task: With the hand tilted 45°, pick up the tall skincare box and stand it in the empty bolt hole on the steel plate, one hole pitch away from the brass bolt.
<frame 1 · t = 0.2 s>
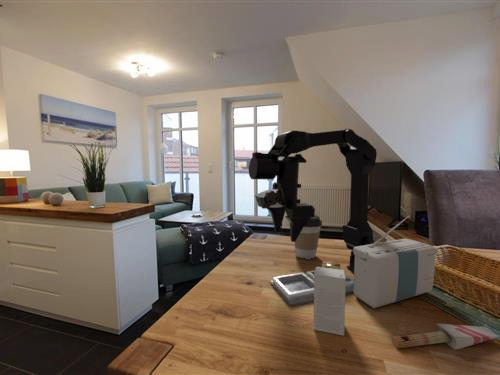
hand: (284, 236, 66), 14 cm above the table, fingers open, 9 cm apart
white boxy appliance: (391, 296, 62), on the table
coffee cup: (305, 256, 90), on the table
bolt plate: (313, 287, 66), on the table
skincare box: (328, 327, 50), on the table
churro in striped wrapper: (443, 344, 46), on the table
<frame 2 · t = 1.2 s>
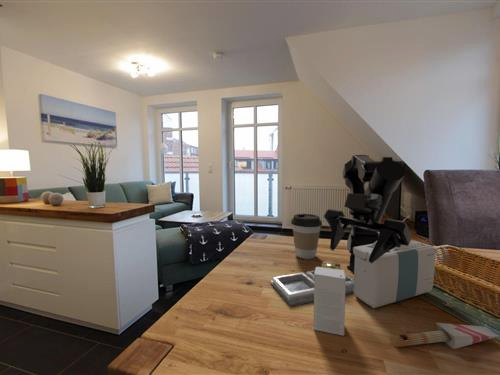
hand: (349, 255, 54), 13 cm above the table, fingers open, 9 cm apart
nothing on the table moved.
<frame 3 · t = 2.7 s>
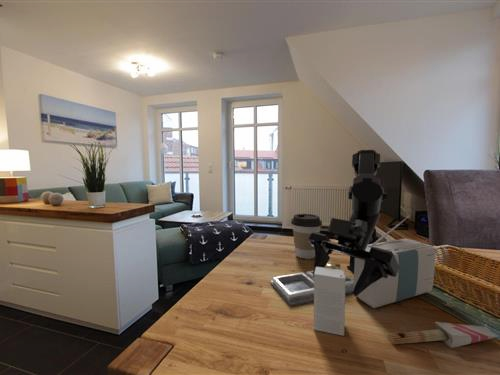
hand: (332, 286, 50), 9 cm above the table, fingers open, 9 cm apart
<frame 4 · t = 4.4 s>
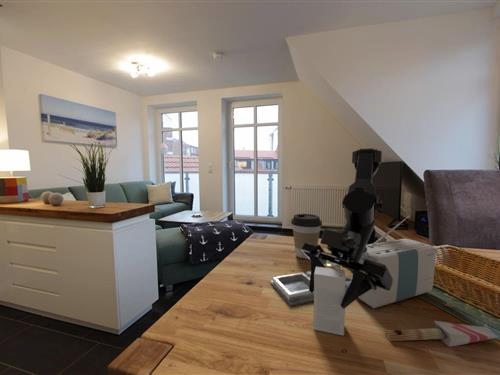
hand: (325, 299, 49), 7 cm above the table, fingers closed on skincare box, 7 cm apart
skincare box: (328, 327, 50), on the table, touching gripper
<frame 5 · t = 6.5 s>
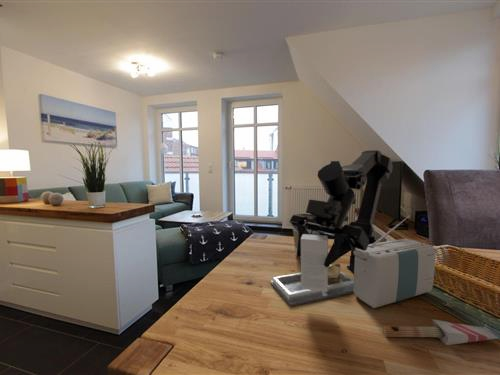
hand: (310, 261, 55), 12 cm above the table, fingers closed on skincare box, 7 cm apart
skincare box: (314, 287, 57), point 5 cm above the table, touching gripper
when the fingers open (8 cm above the table, at t = 9.0 s): skincare box stays where it is, resting on bolt plate.
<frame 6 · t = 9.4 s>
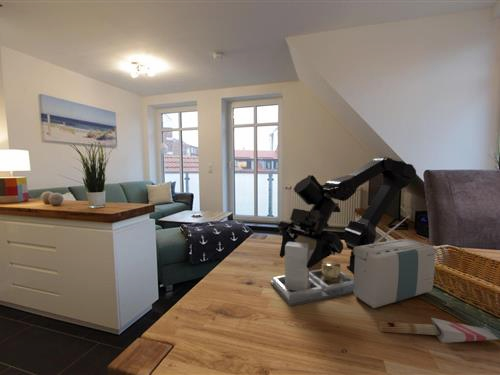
hand: (293, 262, 63), 8 cm above the table, fingers open, 9 cm apart
skincare box: (296, 288, 65), point 1 cm above the table, touching bolt plate
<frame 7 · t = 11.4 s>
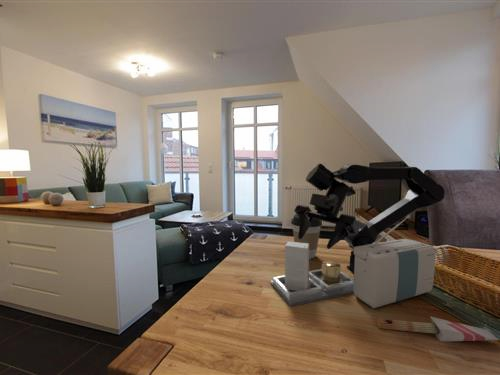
hand: (312, 243, 68), 12 cm above the table, fingers open, 9 cm apart
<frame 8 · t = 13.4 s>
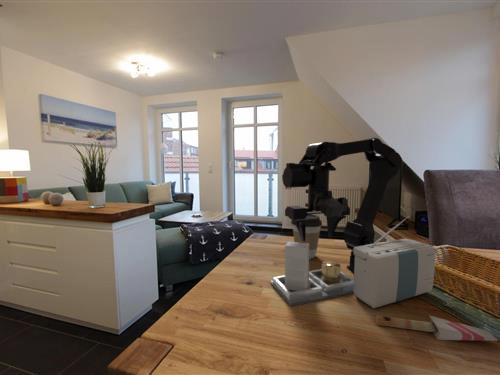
hand: (317, 239, 70), 12 cm above the table, fingers open, 9 cm apart
at the end: skincare box 0.2 cm from the target spot, point 0.6 cm above the table; skincare box tilted 0°; the gripper is holding nothing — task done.
